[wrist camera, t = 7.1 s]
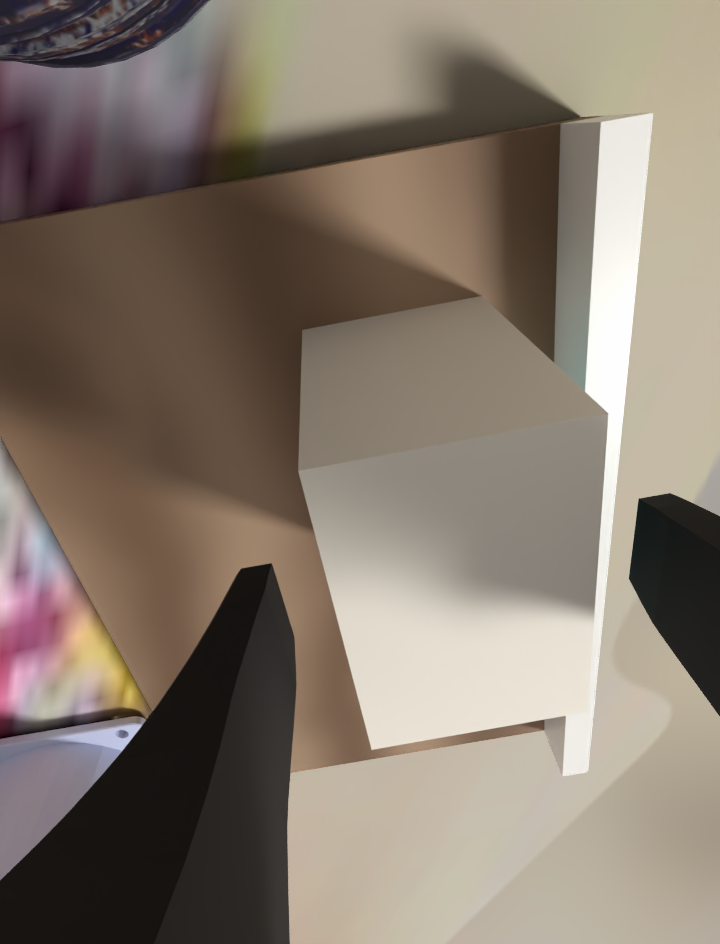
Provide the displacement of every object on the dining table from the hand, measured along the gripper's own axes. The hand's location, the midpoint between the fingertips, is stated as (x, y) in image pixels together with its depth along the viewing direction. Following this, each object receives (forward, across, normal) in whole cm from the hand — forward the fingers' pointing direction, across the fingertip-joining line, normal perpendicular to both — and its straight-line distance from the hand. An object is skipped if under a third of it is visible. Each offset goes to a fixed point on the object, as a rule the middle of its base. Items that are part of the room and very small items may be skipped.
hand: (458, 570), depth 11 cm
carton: (+6, 0, 0) cm, 6 cm away
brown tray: (+7, +3, +4) cm, 9 cm away
